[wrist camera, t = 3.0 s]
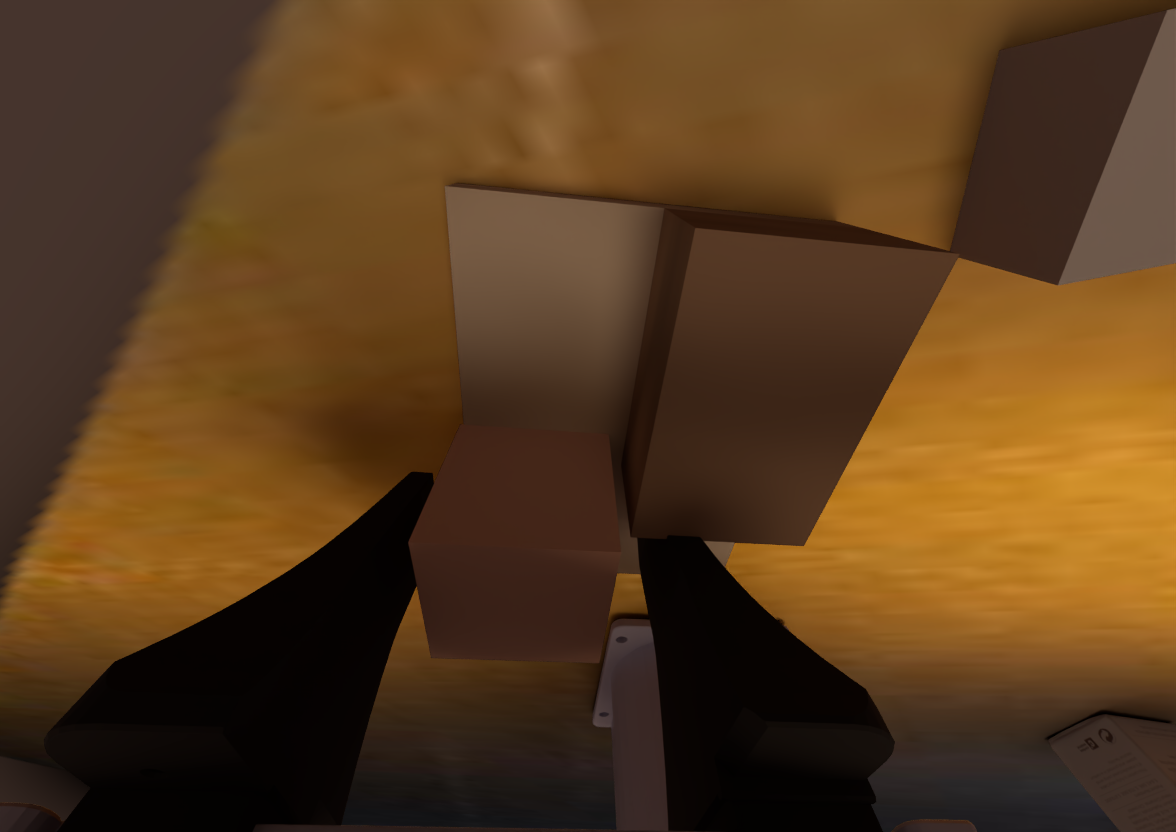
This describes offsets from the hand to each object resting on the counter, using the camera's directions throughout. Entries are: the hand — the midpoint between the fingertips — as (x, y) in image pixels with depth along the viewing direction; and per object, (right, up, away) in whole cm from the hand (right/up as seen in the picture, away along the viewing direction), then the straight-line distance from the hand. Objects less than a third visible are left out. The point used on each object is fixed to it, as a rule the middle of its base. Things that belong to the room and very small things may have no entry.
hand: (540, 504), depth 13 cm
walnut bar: (+5, +5, -1) cm, 7 cm away
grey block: (+12, +9, -3) cm, 15 cm away
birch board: (+2, +3, 0) cm, 4 cm away
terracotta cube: (0, +1, 0) cm, 1 cm away
